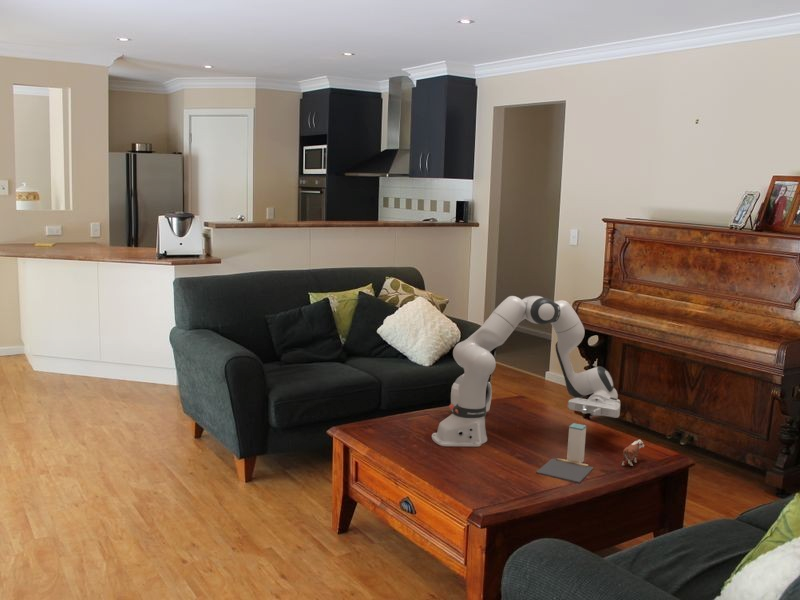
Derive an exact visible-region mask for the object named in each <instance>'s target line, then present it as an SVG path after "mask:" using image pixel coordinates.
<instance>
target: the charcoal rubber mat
mask: <svg viewBox="0 0 800 600" xmlns="http://www.w3.org/2000/svg"><path fill="white" fill-rule="evenodd" d="M556 459H557V458H551V459H550V460H549V461H547V462H546V463H545V464H544V465H542V466H541V467H540V468H538V470H537V471H535V472H536V473H535V474H538V475H543V476H547V477H552V478H556V479H558V480H559V479H560V480H564V481H568V482H572V483H575V484H580V483H581V482H582V481H583V480H584V479H586V477H588V475H589V474H590V473H591V472H592V471H593V470H594V469H595V467H594V466H588V467H584V466H580V465H575V464H571V463H566V462H562V461H557V460H556Z"/></svg>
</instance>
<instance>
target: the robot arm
mask: <svg viewBox="0 0 800 600" xmlns="http://www.w3.org/2000/svg"><path fill="white" fill-rule="evenodd" d="M523 321H526V322H530V323H532V324H536V325H542V326H543V325H547V324H550V325H551V327H552V328H553V329H554V332H555V334H556V337H557V342H555V345H554V346H555V347H554V348H555V353H556V357H557V359H558V362H559V365H560V368H561V372H562V374H563V378H564V382H565V386H566V390H567V392H568V394H569V395H570V396H571V397H573V398H570V399H569V400H568V401H567V409H568V410H571V411H575V412H581V414H585V415H586V414H590V415H591V416H603V417H609V418H614V419H615V418H617V419H618V418H619V417H620V413H621V400H620V399H618V398H619V394H618V391H617V390H616V388H615V384H614V379H613V377H612V374H611V373H610V372H609V371H608V370H607V369H606V368H605V367H604V366H596V367H593V368H590V369H587V370H584V371H581V372H576V371H575V370H574V367H573V364H572V363H573V362H572V360H571V358H570V354H571V352H572V351H574V349H576V348H577V347H578V346H579V345H580V344H581V343H582V341H583V339H584V337H585V331H586V330H585V327H584V324H583V322H582V321H581V318H580V317H579V315H578V314H577V312H576V311H575V309H574V308H573V306H572V305H571V304H570V303H569V302H568V301H566V300H564V299H562V300H561V299H559V300H556V301H553V300H552V299H551V298H547V297H543V296H541V295H528V296H524V297H522V298H520V297H518V296H515V295H509V296H508V297H506V298H505V299H504V300H503V301H502V302H501V303H499V304H498V306H496V308H495V309H493V311H492V313H490V315H489V317H488V318H486V320H485V321H484V322H483V323H482V325H480V327H479V328H478V329H477V330H475V332H473V333H472V334H471V335H469V336H468V338H466V339H464V340H462V341H460V342H458V343H456V345H455V346H454V348H453V350H452V356H453V359H454V361H455V362H456V363H457V365H459V367H461V368H462V369H463V371H464V373H463V374H464V376H463V380H462V382H461V383H460V384H459V388H458V404H457V405H456V406H454V405H453V404H451V403H450V404H449V405H448V408H449V409H450V410H451V411H452V410H453V412H452V413H451V414H450V415H449V416H447V417H446V418H444V419H443V420H442V421H440V422H439V424H438V426H437V432H433V433H432V434H431V439H432V441H433V442H434V443H436V445H439V446H441V447H477V448H478V447H481V446H482V445H483V444H485V443H486V442H488V435H487V431H486V417H487V412H486V406H485V399H486V387H487V383H488V382H489V379H490V377H491V376H490V375H492V373H493V372H494V371H495V369H496V365H497V363H496V359H495V357H494V355H493V354H492V351H493V350H494V349H496V348H497V347H500V346H502V345H503V344H505V342H506V341H507V339H508V338H509V337H510V336H511V334H513V332H514V331H515V329H516V328H517V327H518V325H519V324H520V323H521V322H523ZM587 395H590V396H589V397H588V398H587V399H586V398H583V397H586V396H587Z"/></svg>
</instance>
